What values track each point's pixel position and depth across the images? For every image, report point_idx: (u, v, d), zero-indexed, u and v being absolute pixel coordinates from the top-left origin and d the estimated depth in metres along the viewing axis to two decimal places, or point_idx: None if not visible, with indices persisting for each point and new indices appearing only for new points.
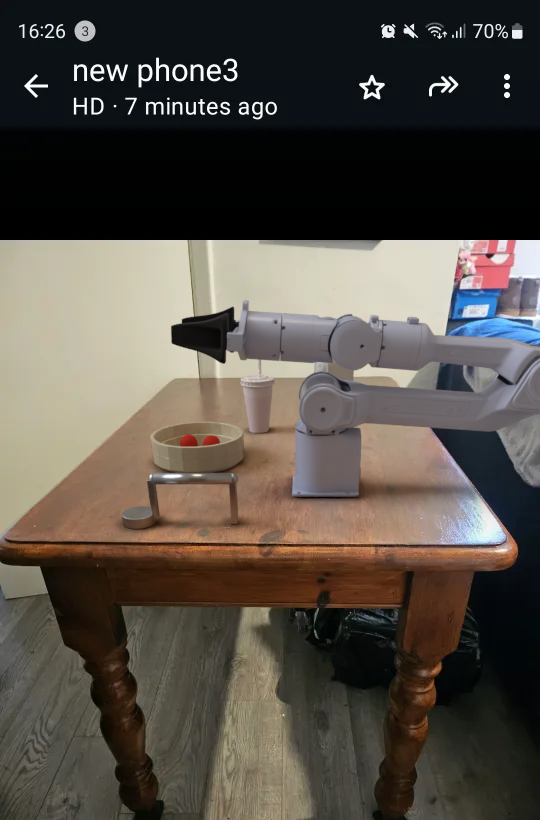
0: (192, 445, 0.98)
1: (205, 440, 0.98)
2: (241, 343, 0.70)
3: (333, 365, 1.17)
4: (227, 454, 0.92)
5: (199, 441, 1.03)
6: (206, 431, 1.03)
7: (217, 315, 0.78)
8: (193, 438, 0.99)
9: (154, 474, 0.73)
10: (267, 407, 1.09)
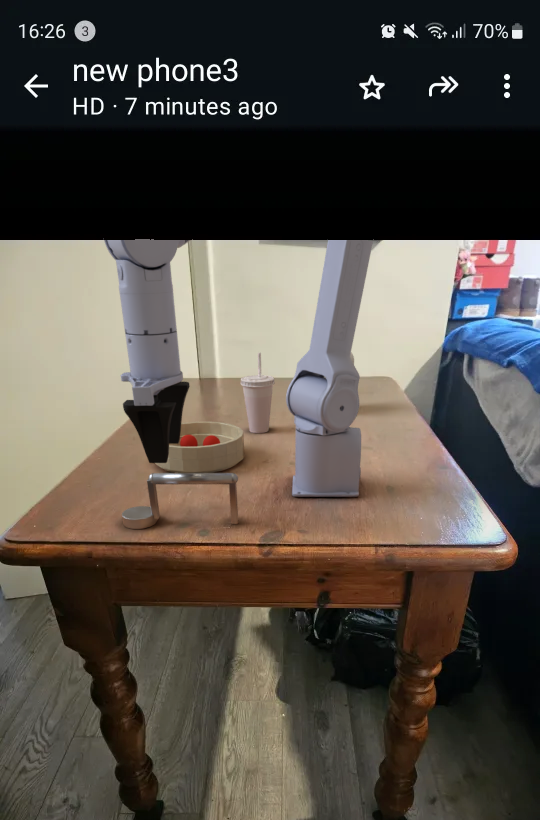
0: (192, 445, 0.98)
1: (205, 440, 0.98)
2: (141, 388, 0.61)
3: None
4: (227, 454, 0.92)
5: (199, 441, 1.03)
6: (206, 431, 1.03)
7: None
8: (193, 438, 0.99)
9: (154, 474, 0.73)
10: (267, 407, 1.09)
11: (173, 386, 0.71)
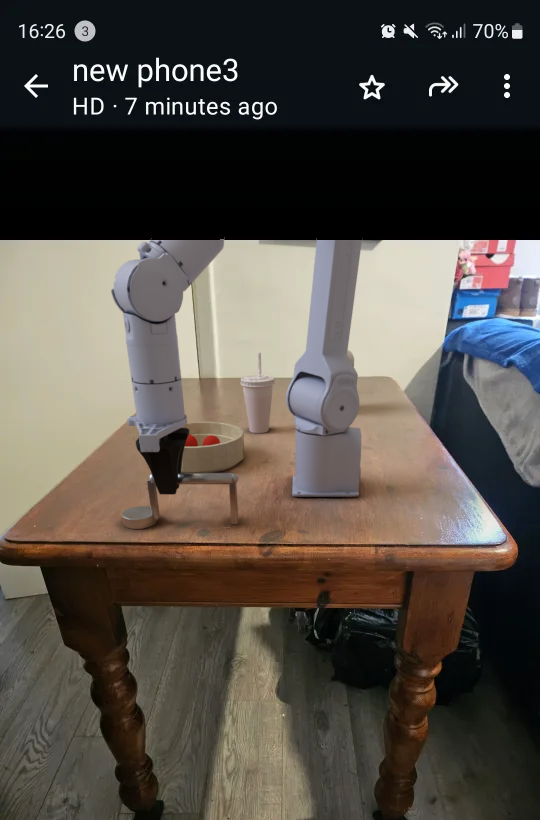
0: (192, 445, 0.98)
1: (205, 440, 0.98)
2: (147, 436, 0.63)
3: None
4: (227, 454, 0.92)
5: (199, 441, 1.03)
6: (206, 431, 1.03)
7: None
8: (193, 438, 0.99)
9: None
10: (267, 407, 1.09)
11: (173, 434, 0.71)
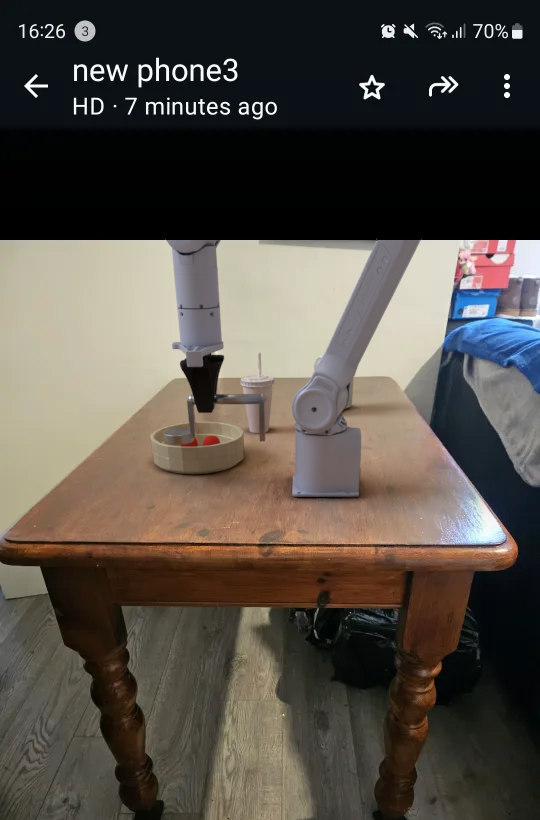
0: (192, 445, 0.98)
1: (205, 440, 0.98)
2: (193, 352, 0.74)
3: None
4: (227, 454, 0.92)
5: (199, 441, 1.03)
6: (206, 431, 1.03)
7: None
8: None
9: None
10: (267, 407, 1.09)
11: (211, 358, 0.82)
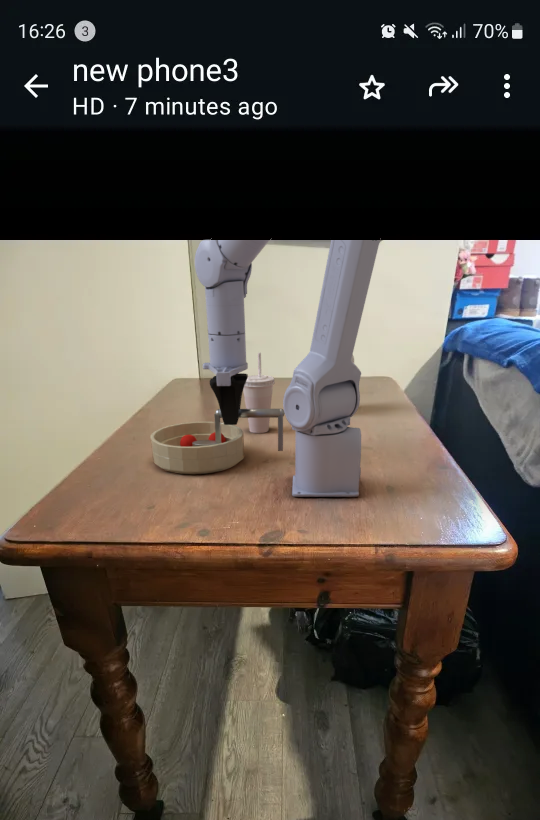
0: (192, 445, 0.98)
1: None
2: (223, 373, 0.85)
3: None
4: (227, 454, 0.92)
5: None
6: (206, 431, 1.03)
7: None
8: (193, 438, 0.99)
9: None
10: (267, 407, 1.09)
11: (236, 377, 0.93)
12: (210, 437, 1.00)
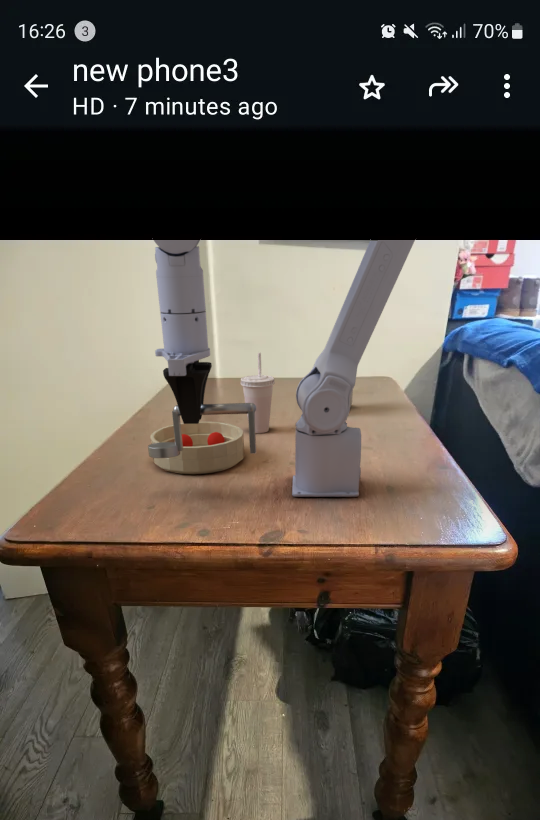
0: (185, 440, 0.98)
1: None
2: (176, 360, 0.69)
3: None
4: (227, 454, 0.92)
5: (199, 441, 1.03)
6: (206, 431, 1.03)
7: None
8: (184, 435, 0.99)
9: None
10: (267, 407, 1.09)
11: (197, 366, 0.77)
12: (209, 438, 1.00)
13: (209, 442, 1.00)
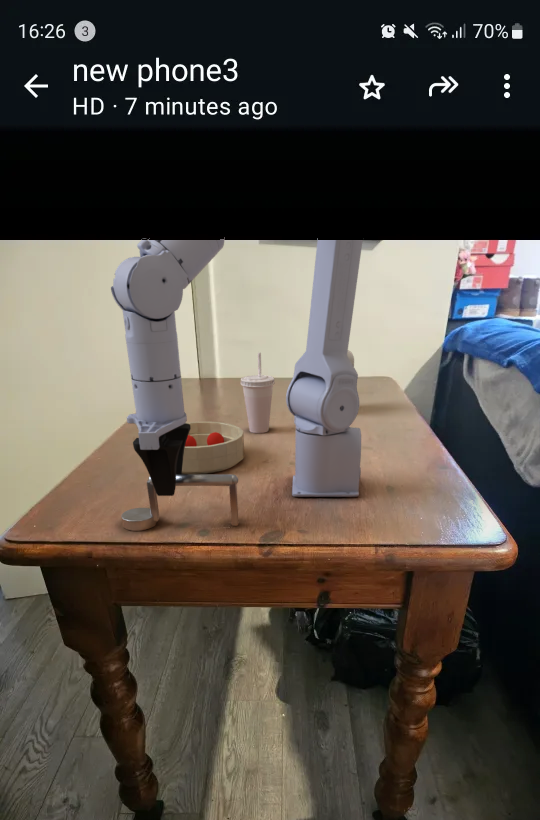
0: (190, 446, 0.98)
1: (212, 433, 1.00)
2: (147, 433, 0.63)
3: None
4: (227, 454, 0.92)
5: (199, 441, 1.03)
6: (206, 431, 1.03)
7: None
8: (191, 439, 0.98)
9: None
10: (267, 407, 1.09)
11: (174, 429, 0.72)
12: (208, 439, 0.99)
13: (208, 443, 1.00)
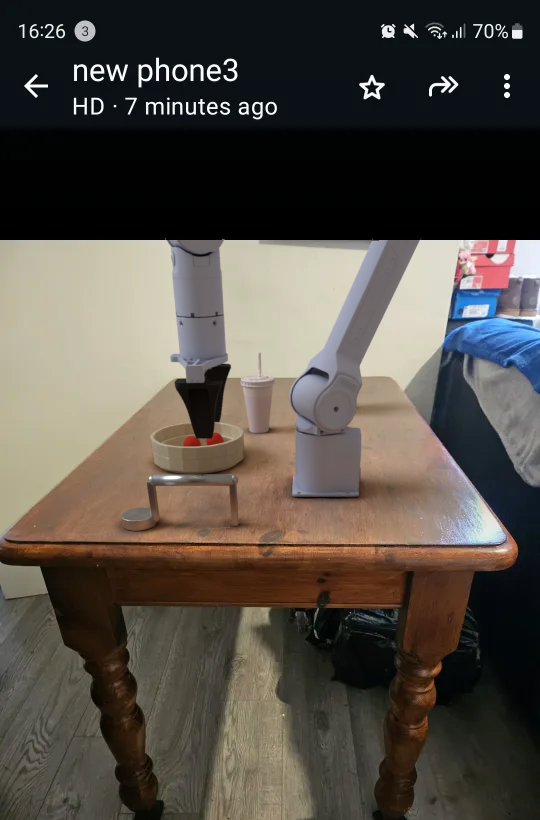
0: None
1: None
2: (194, 366, 0.66)
3: None
4: (227, 454, 0.92)
5: None
6: None
7: None
8: None
9: (154, 475, 0.73)
10: (267, 407, 1.09)
11: (216, 367, 0.76)
12: (207, 440, 0.99)
13: (208, 444, 1.00)
